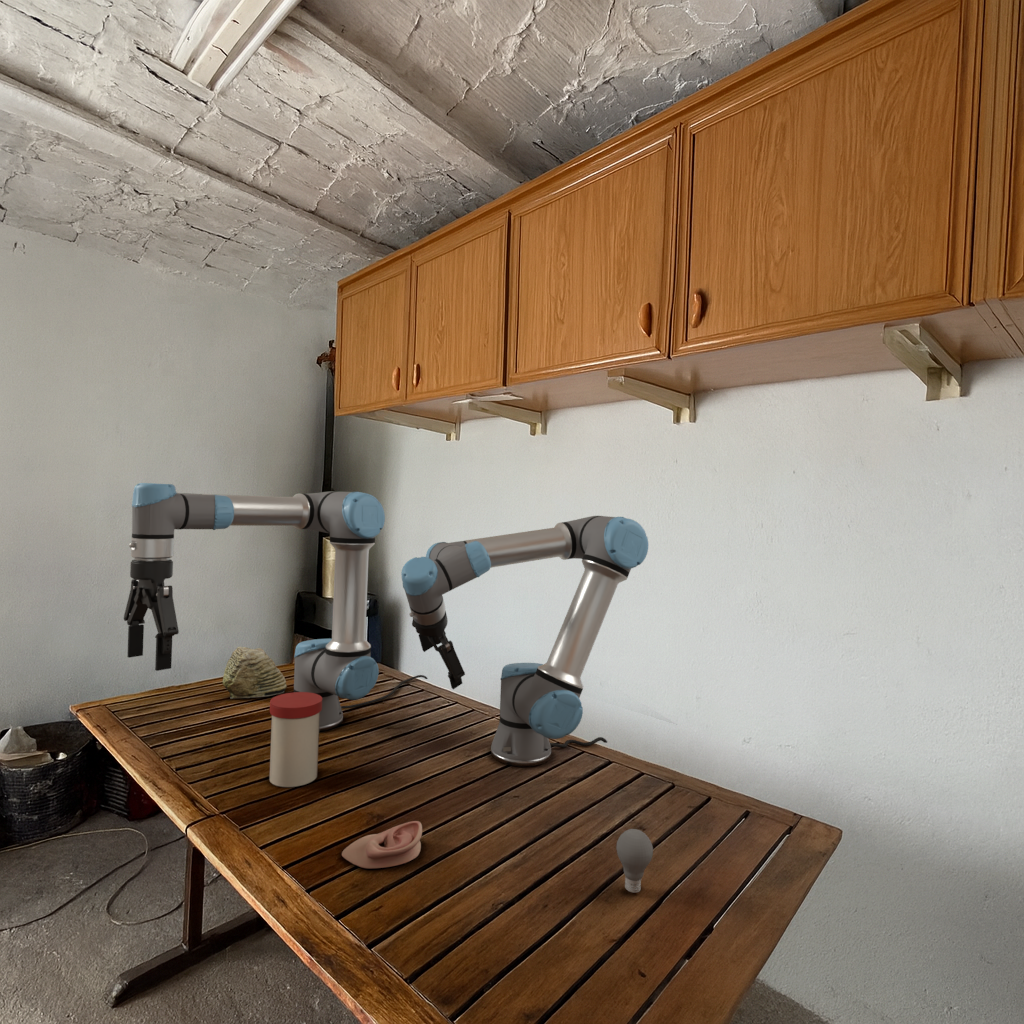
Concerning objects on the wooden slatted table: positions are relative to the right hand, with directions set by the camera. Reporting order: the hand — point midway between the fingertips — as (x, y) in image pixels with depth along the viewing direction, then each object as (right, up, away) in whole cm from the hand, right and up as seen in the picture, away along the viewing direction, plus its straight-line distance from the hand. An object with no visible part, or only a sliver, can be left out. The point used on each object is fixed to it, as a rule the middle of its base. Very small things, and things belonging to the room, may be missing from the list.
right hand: (442, 666), depth 156 cm
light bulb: (+37, -25, -51) cm, 68 cm away
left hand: (-57, +7, -27) cm, 63 cm away
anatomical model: (-6, -23, -42) cm, 49 cm away
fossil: (-63, -19, +42) cm, 78 cm away
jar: (-32, -22, -14) cm, 41 cm away
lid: (-31, -4, -14) cm, 34 cm away
